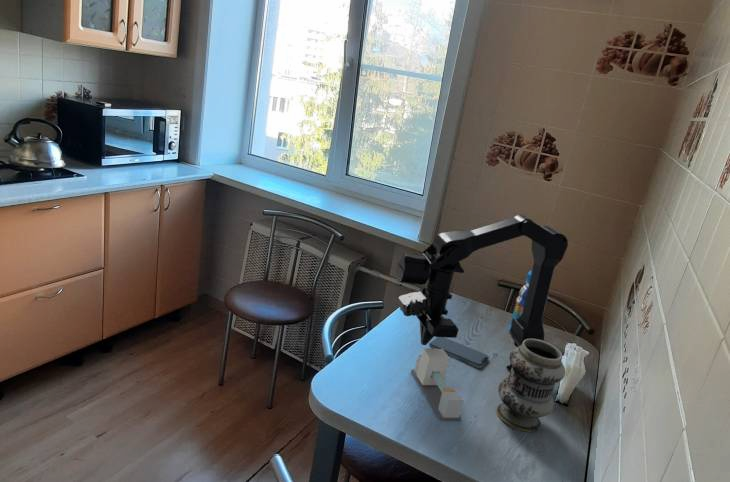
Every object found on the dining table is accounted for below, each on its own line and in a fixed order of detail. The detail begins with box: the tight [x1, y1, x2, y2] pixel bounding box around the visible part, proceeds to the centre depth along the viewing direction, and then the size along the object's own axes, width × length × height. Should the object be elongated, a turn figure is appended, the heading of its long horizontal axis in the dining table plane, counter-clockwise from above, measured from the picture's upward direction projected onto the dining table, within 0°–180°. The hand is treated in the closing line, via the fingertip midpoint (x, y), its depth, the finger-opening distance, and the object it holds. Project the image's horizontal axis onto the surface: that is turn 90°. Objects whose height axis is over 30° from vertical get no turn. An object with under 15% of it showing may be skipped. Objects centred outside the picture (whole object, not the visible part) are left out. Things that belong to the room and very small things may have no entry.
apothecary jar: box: [496, 339, 566, 433], centre depth 114 cm, size 12×12×18 cm
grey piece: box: [410, 354, 464, 422], centre depth 118 cm, size 5×18×5 cm, turn 15°
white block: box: [417, 347, 450, 385], centre depth 121 cm, size 5×4×7 cm
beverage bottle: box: [507, 270, 548, 331], centre depth 157 cm, size 8×8×20 cm
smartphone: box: [429, 337, 489, 369], centre depth 141 cm, size 8×2×15 cm
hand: (423, 344), depth 127 cm, fingers closed
